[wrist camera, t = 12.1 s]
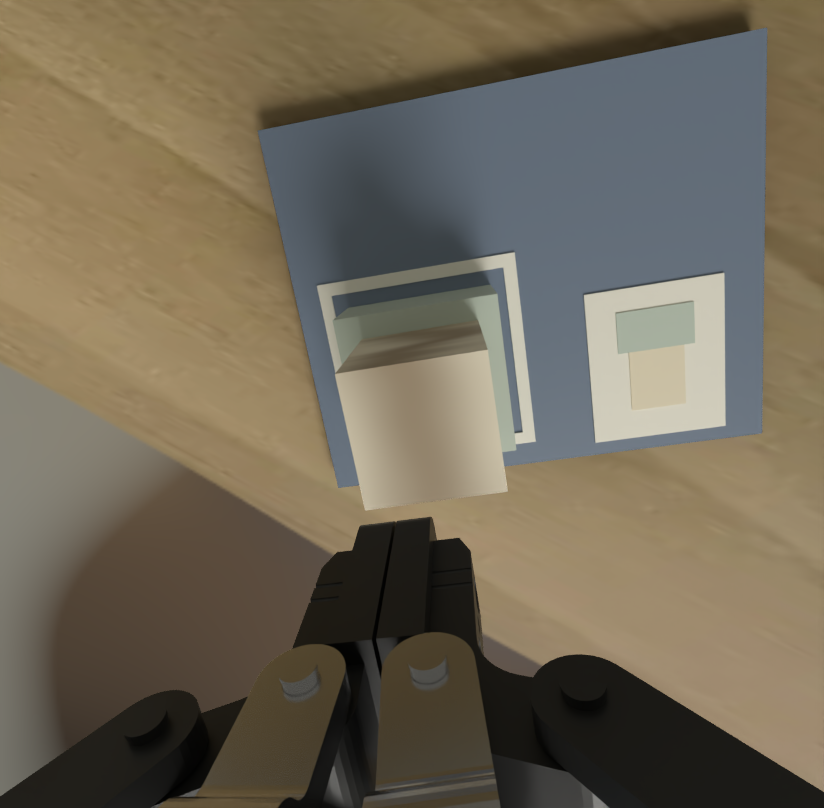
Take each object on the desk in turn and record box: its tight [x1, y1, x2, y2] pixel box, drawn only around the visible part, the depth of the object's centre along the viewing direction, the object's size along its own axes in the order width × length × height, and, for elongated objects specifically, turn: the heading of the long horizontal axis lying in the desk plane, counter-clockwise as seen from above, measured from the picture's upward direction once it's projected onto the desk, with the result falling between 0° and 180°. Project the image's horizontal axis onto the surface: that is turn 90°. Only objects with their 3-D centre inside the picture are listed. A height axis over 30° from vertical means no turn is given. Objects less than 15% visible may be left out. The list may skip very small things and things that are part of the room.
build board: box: [258, 28, 767, 488], centre depth 27 cm, size 22×18×1 cm
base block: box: [333, 285, 516, 452], centre depth 26 cm, size 7×7×4 cm
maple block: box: [335, 320, 508, 510], centre depth 22 cm, size 5×5×6 cm
